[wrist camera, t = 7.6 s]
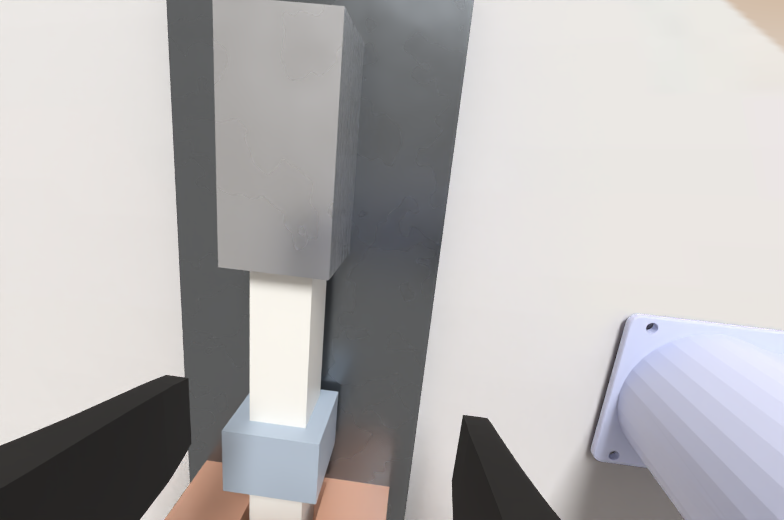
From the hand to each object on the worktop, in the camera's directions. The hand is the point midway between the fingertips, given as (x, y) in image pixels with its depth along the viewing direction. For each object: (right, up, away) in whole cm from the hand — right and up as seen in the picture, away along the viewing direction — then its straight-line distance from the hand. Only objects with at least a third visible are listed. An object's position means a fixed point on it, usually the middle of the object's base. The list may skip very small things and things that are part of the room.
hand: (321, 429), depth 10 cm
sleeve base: (-2, +2, +9) cm, 10 cm away
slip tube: (-3, -1, +9) cm, 9 cm away
